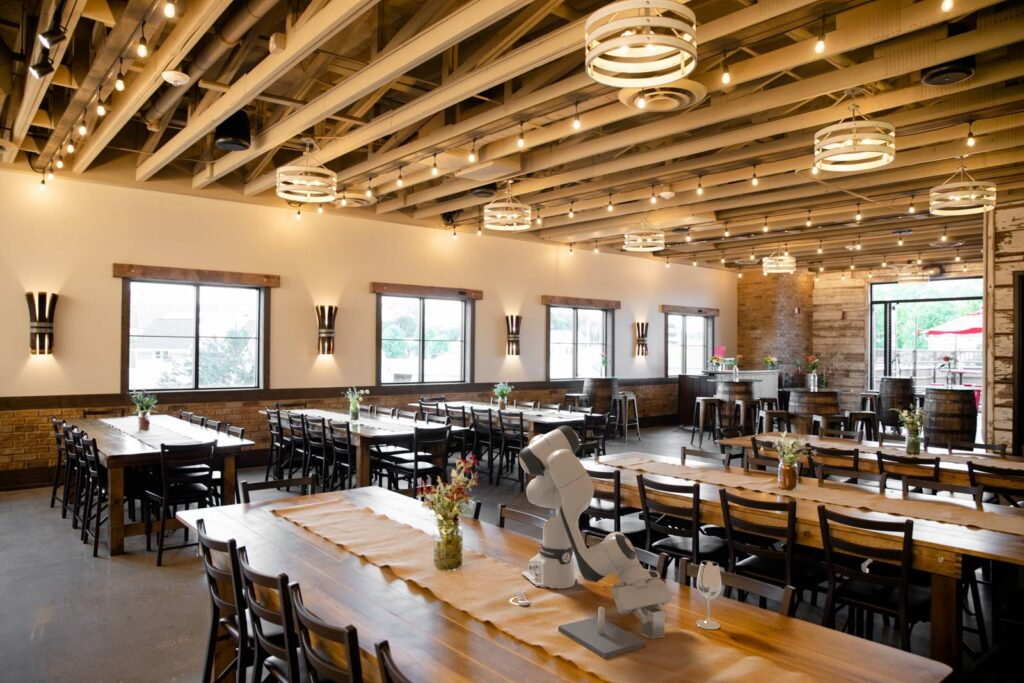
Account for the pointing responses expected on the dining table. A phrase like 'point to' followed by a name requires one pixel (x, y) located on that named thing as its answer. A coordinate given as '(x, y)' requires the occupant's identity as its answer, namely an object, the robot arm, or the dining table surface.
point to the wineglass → (709, 589)
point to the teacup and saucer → (520, 597)
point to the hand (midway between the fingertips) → (654, 621)
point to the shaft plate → (601, 636)
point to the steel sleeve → (653, 622)
